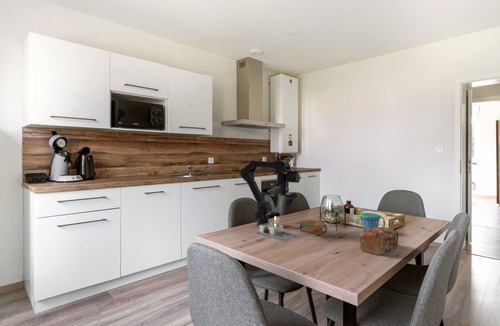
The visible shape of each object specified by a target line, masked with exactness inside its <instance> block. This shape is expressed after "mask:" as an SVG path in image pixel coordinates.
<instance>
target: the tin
mask: <svg viewBox="0 0 500 326" xmlns="http://www.w3.org/2000/svg"><path fill="white" fill-rule="evenodd" d="M299 230H300V232H301V233H303V232H304V233H309V234H316V235H315V237H318V238H321V237H324V236H325V235H326V234H327V232H328V225H327V224H326V223H325V222H324V221H321V220H315V219H303V220H302V221H301V222H300V224H299Z"/></svg>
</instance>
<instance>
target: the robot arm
mask: <svg viewBox="0 0 500 326" xmlns="http://www.w3.org/2000/svg"><path fill="white" fill-rule="evenodd" d="M257 168H267V169H268V168H269V169H273V170H275V171H274V172H273V174H274V175H276V183H275V185H274V186H273V187H271V188H270V189H268V190H267V193H266V195H268V197H270V198H271V200H272V203H273V206H274V208H277V207H278V203H279V202H278V201H279V196H283V197H285V198H284V199H285V201H286V202H285V203H286V204H285V205H286V206H285V207H286V210H287V211H288V210H289V209H290V207H291V205H292V203H293V202H294V200H295V199H296V198H298V193H297V192H295V191H293V192H292V191H290V192H289V190H288V186H289V183H293V184H294V183H295V184H296V183H297V184H298V183H300V181H301V176H300V175H301V174H300V173H299V170H292V169H291V167H290V166H289V163H288V161H287V160H285V159H284V160H274V161H267V160H266V161H265V160H257V159H256V160H255V159H254V160H252V161H250V162H249V163H248V164H246V165H245V166H244V167H243V168H241V170H240V171H239V175H240V177H241V178H242V180H244V181H245V182H246V183H247V186H248V187H249V189H250V191H251V193H252V195H253V197H254V199H255V201H256V204H257V205H256V206H257V207H256V208H257V212H256V213H255V214H254V217H255V219H256V226H259V227H260V225H261V224H266V223H269V217H270V215H271V214H272V213H273V208H272V207H273V206H272V205H271V203H270V201H269V200H268V201H267V200H265V198H264V197H263V194H262V192H261V190H260V188H259V186H258V184H257V182H256V180H255V172H256V170H257ZM287 182H288V183H287Z"/></svg>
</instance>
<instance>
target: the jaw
mask: <svg viewBox="0 0 500 326" xmlns="http://www.w3.org/2000/svg"><path fill="white" fill-rule="evenodd" d="M273 217H274V218H273V227H270V234H271V235H278V234H282V233H284V232H285V231H284V230H285V229H284V227H285V226H284V225H282V224H280V216H273Z"/></svg>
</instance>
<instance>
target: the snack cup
mask: <svg viewBox="0 0 500 326" xmlns="http://www.w3.org/2000/svg"><path fill="white" fill-rule="evenodd" d="M359 218H360V220H361V224H362V226H361V227H362V231H363V233H364V232H365V231H367V230H370V229H372V228H375V227H379V224H380V220H381V219H382V220H383V221H382V223H383V225H382V227H386V220H385V218H384V217H383V216H382V215H381V214H378V213H373V212H362V213H360V214H358V215H357V216H356V219H355V225H356V226H358V219H359Z"/></svg>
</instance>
